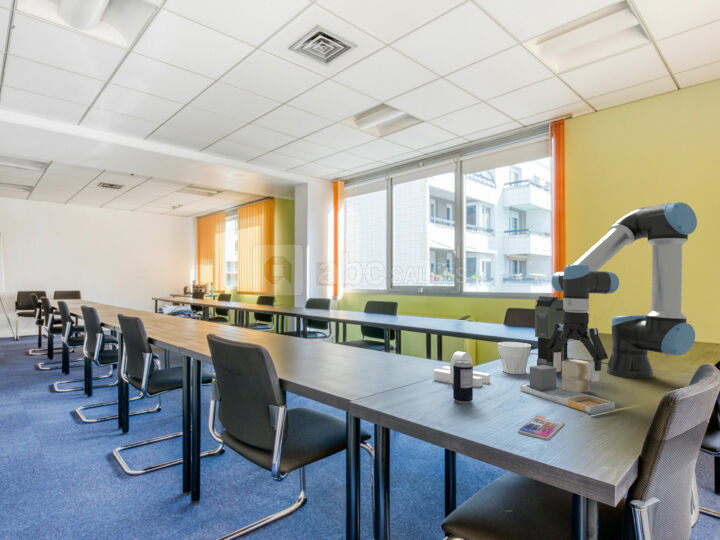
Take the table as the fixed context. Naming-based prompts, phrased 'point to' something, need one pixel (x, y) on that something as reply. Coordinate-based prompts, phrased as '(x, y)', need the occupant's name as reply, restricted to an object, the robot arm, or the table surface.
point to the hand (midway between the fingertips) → (575, 376)
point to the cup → (514, 356)
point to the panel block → (576, 375)
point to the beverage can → (463, 381)
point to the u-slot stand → (447, 372)
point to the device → (548, 328)
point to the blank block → (543, 377)
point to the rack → (573, 399)
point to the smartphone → (541, 428)
